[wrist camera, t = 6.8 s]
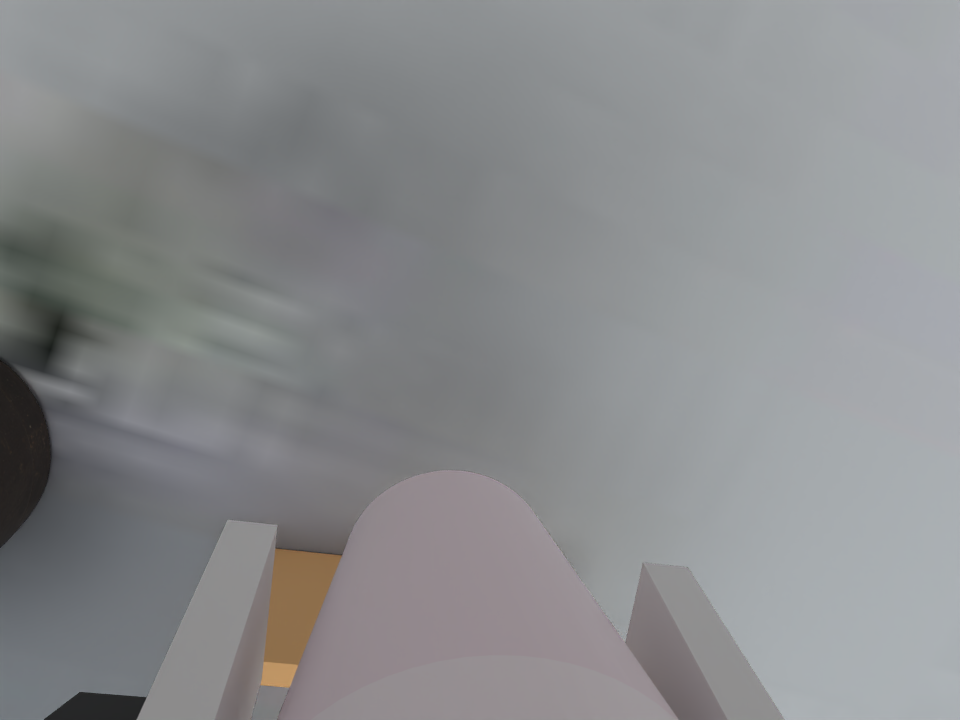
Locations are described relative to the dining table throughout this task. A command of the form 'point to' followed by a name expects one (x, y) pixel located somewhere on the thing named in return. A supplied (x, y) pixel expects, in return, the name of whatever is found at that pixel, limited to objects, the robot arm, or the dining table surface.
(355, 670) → the smoothie
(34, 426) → the container
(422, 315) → the dining table surface
